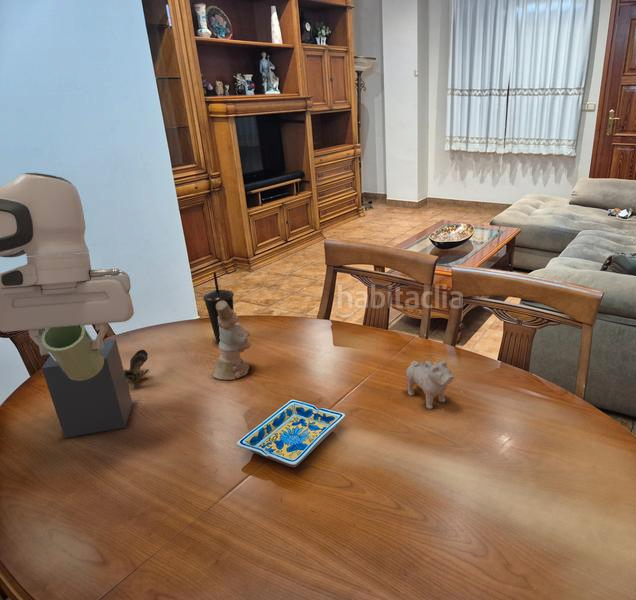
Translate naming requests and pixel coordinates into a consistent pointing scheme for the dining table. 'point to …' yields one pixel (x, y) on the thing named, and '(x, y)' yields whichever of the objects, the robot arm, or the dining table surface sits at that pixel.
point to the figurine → (230, 344)
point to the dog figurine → (429, 379)
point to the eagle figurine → (137, 367)
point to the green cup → (73, 351)
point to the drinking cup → (211, 302)
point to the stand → (91, 396)
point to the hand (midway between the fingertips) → (72, 352)
